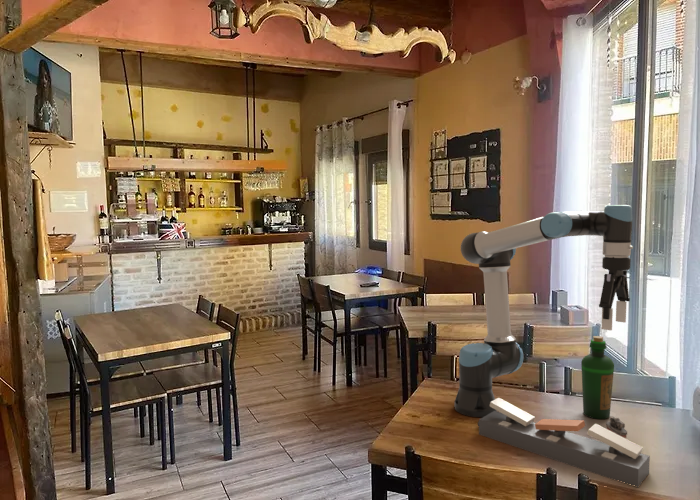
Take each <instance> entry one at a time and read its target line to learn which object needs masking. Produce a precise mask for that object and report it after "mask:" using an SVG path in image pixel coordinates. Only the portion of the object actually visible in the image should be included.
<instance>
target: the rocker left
mask: <svg viewBox="0 0 700 500" xmlns="http://www.w3.org/2000/svg"><path fill="white" fill-rule="evenodd" d="M490 407H492V408H494V409H495V410H497V412H501V413H503V414H504V415H506V416H508V417H510V418H512V419H513V420H515V421H517V422H519V423H521V424H522V425H524V426H527V425H529V424H530V423H532V422H534V421H535V418H536V417H535V415H532V414H530V413H528V412H527V411H525V410H524V409H521V408H519V407H517V406H515V404H512V403H510V402H508V401H506V400H504V399H502V398H500V397H497V398H495V400H493V401H491V402H490Z"/></svg>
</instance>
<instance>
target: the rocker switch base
mask: <svg viewBox="0 0 700 500" xmlns="http://www.w3.org/2000/svg"><path fill="white" fill-rule="evenodd" d="M536 423H537V422H534V421H533V422H532V423H530V424H529V425H527V426H524V425H522V424H521V423H519V422H517V421H515V420H513V419H512V418H510V417H508V416H506V415H504V414H503V413H501V412H499V411H493V412H491V413H490V414H488V415H486V416H484V417H480V418H479V419H478V422H477V426H478V435H479V436H482V437H486V438H489V439H492V440H495V441H497V442H500V443H503V444H507V445H509V446H512V447H515V448H518V449H522V450H524V451H527V452H530V453H533V454H536V455H539V456H542V457H546V458H548V459H552V460H554V461H557V462H560V463H563V464H566V465H569V466H572V467H575V468H579V469H581V470H584V471H587V472H590V473H593V474H596V475H599V476H602V477H605V478H608V479H611V480H614V479H615V480H614V481H617V480H619V481H618V482H620V481H622V482H621V483H623V482H625V483H624V484H626V483H628V484H627V485H629V484H631V485H630V486H632V485H635V486H637V487H636V488H639V487H640V486H641V485H642V483H643V482H644V481H643V480H645V479H646V478H647V477H648V475H649V474H650V459H651V457H650V455H648V454H645V453H643V452H641V454H640V455H639V456H638V457H637V458H636V459H634V458H632V457H630V456H628V455H626V454H624V453H622V452H620V451H619V450H617V449H615V448H613V447H611V446H609V445H607V444H605V443H603V442H601V441H599V440H597V439H595V438H589V437H587V436H583V435H580V434H575V433H572V432H570V431H556V430H536V427H535V424H536ZM646 476H647V477H646ZM642 481H643V482H642ZM641 482H642V483H641ZM639 485H640V486H639ZM635 486H634V487H635ZM638 486H639V487H638Z"/></svg>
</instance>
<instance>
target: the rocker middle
mask: <svg viewBox="0 0 700 500" xmlns="http://www.w3.org/2000/svg"><path fill="white" fill-rule="evenodd" d="M535 423H536V424H535V427H536V430H556V431H566V432H580V431H581V430H582V429H583V428H584V427H586V422H585V420H581V419H558V418H557V419H556V418H555V419H554V418H553V419H552V418H551V419H549V418H542V419H540V420H539V421H538V422H535Z"/></svg>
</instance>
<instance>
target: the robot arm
mask: <svg viewBox="0 0 700 500" xmlns="http://www.w3.org/2000/svg"><path fill="white" fill-rule="evenodd" d="M632 228H633V208H632V206H631V205H629V204H628V205H627V204H610V205H609V204H606V205H605V206H604V209H603V211H591V210H590V211H585V210H576V211H575V210H574V211H554V212H549V213H547V214H545V215H544V216H541V217H537V218H534V219H531V220H528V221H524V222H521V223H517V224H514V225H509V226H507V227H506V226H505V227H503V228H499V229H497V230H493V231H484V230H483V231H479V232H471V233H469V234H467V235H465V237H463V239H462V241H461V243H460V252H461V253H460V254H461V255H462V257H463V258H464V259H465V261H467V262H469V263H471V264H475V265H478V268H479V270H480V271H482V273H483V285H484V299H485V300H484V301H485V302H484V303H485V310H486V311H485V313H486V326H487V327H486V329H487V335H486V336H485V337H484V338H483V342H476V343H475V342H474V343H467V344H465V345H463V346H462V347H461V348H460V350H459V357H458V365H459V366H458V372H459V375H458V376H459V382H458V383H459V386H458V391H457V393H456V395H455V399H454V407H455V408H454V410H455V411H456V413H457V412H458V413H459V414H460V415H463V416H468V417H473V418H475V417H476V418H483V417H484V416H486V415H488V414H490V413H491V412H493V411H497V410H495V409H494V408H492V407H490V402H491V401H493V400H495V399H496V398H495V394H494V392H493V379H494V378H498V377H502V376H504V375H505V376H506V375H510V374H512V373H514V372H517V371H518V370H519V369H520V368H521V367H522V365H523V363H524V352H523V349H522V347H520V344H518V342H517V338H516V337H515V336H514V335H513V334H512V327H511V313H510V299H509V298H510V297H509V285H508V284H509V283H508V270H509V269H510V268H511V266H512V265H511V260H512V259H513V258H514V256H516V253H517V252H516V251H517V249H518V248H521V247H526V246H530V245H535V244H539V243H543V242H546V241H551V240H557V239H560V238H567V237H579V236H598V237H599V236H601V237H602V238H603V240H602V256H603V257H602V266H601V267H602V269H604V270H608V273H605V274H604V275H603V285H602V289H601V296H600V301H599V304H598V307H599V308H601V330H604V331H613V316H614V314H613V313H614V311H613V310H614V308H613V303H614V299H615V296H616V298H617V300H616V303H615V304H616V305H615V307H616V308H615V322H617V323H626V322H627V321H626V320H627V303H628V302H630V300H631V298H630V294H629V293H630V292H629V285H628V271H629V270H630V269H631V262H632V261H631V260H632V259H631V258H630V256H631V253H632V250H633V248H634V246H633V245H632V231H633V230H632ZM497 412H498V411H497Z"/></svg>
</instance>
